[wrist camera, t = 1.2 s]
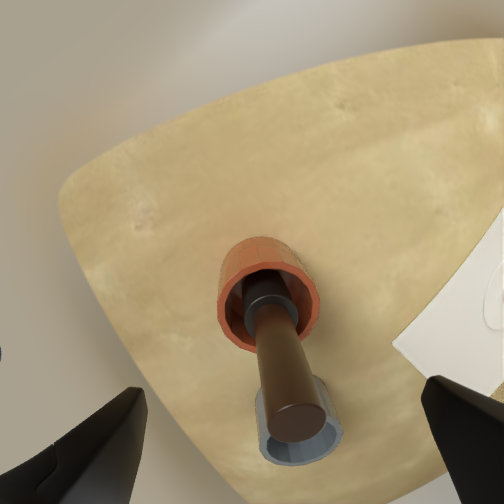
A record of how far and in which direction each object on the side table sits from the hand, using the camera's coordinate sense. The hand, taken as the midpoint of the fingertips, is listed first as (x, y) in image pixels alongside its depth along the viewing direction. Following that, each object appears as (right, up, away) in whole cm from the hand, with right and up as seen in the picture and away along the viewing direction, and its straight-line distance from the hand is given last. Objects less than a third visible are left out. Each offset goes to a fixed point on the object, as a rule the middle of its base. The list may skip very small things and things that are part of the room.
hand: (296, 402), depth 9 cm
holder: (-1, +3, +13) cm, 13 cm away
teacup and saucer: (+24, -2, +16) cm, 29 cm away
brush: (-1, +2, +10) cm, 11 cm away
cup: (+2, -8, +16) cm, 18 cm away
